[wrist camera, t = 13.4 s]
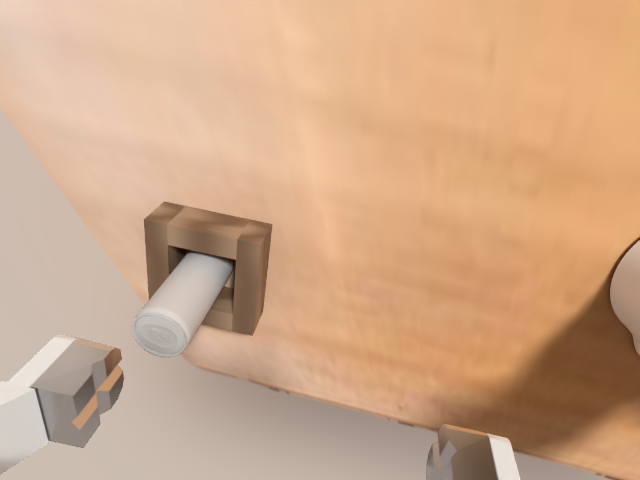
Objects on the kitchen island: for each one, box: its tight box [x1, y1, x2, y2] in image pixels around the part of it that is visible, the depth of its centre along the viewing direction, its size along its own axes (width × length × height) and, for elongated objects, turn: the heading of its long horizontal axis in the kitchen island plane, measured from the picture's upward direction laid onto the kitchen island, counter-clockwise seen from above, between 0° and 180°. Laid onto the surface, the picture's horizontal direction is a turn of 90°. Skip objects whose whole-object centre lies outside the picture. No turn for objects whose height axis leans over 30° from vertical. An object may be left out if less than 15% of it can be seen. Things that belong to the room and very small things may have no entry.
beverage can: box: [132, 250, 233, 357], centre depth 40 cm, size 5×5×12 cm
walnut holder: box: [144, 202, 272, 335], centre depth 43 cm, size 11×11×4 cm
